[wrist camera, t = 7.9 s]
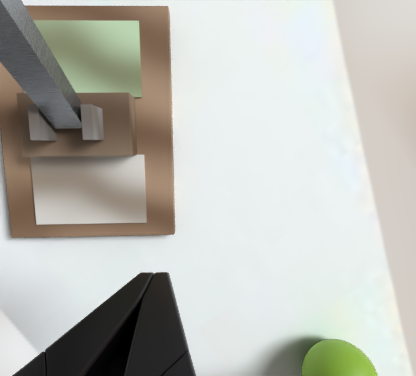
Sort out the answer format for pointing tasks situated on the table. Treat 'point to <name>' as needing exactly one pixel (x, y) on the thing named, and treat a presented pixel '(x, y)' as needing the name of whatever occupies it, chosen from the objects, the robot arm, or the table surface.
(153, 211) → the switch base
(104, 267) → the table surface
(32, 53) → the toggle lever
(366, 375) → the snail figurine
